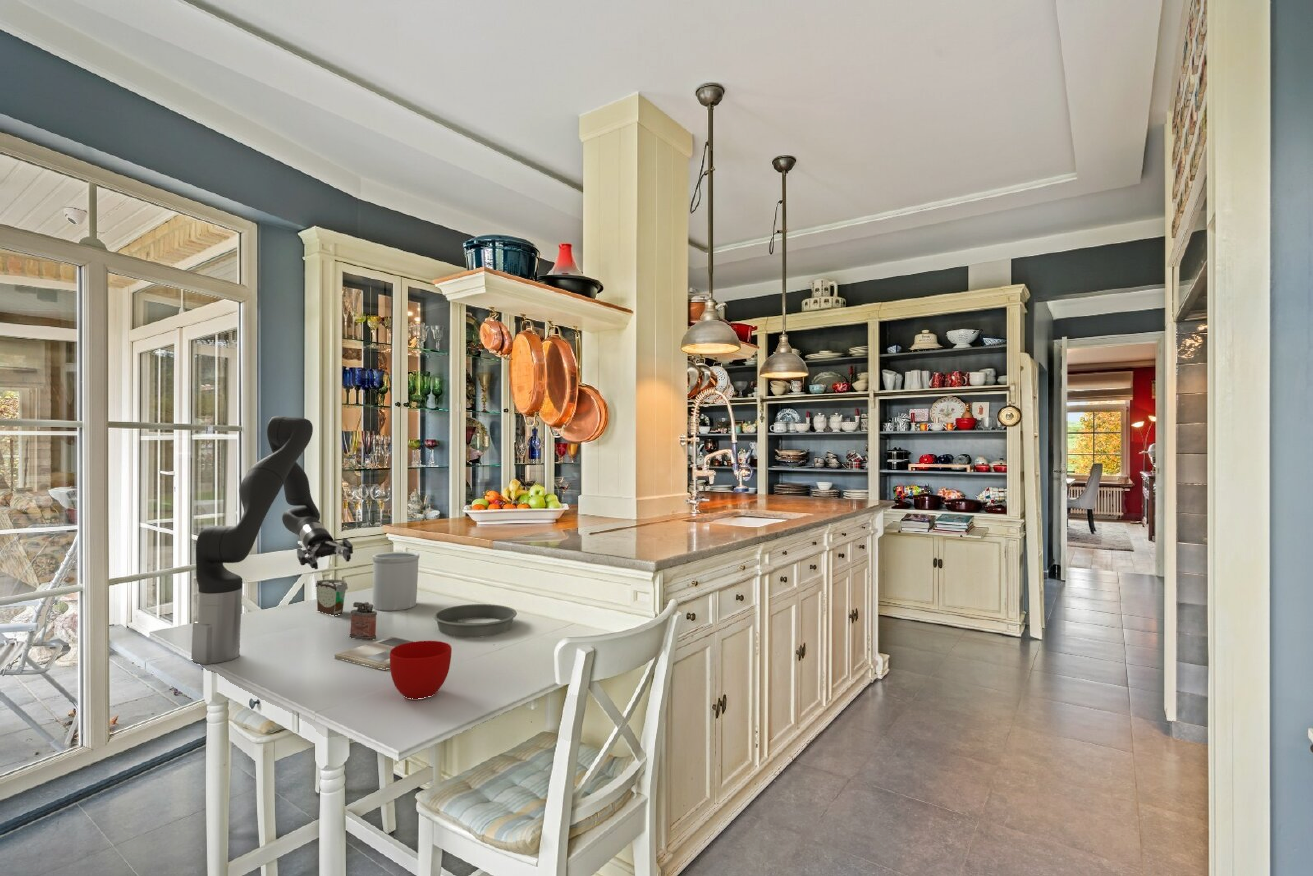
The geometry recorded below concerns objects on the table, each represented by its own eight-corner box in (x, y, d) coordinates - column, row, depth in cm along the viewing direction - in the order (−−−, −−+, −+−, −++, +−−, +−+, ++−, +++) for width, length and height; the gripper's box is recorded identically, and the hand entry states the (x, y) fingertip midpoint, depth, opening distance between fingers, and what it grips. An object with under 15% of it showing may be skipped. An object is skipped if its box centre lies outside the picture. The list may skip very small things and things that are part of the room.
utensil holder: (365, 604, 218) (366, 553, 218) (409, 598, 228) (410, 549, 228) (378, 613, 207) (380, 559, 207) (424, 607, 216) (426, 555, 217)
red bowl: (434, 674, 154) (435, 633, 154) (458, 698, 141) (460, 652, 141) (377, 685, 146) (378, 641, 147) (397, 711, 133) (398, 662, 133)
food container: (354, 613, 206) (356, 582, 206) (336, 617, 201) (337, 585, 201) (332, 607, 213) (334, 577, 213) (314, 611, 208) (315, 580, 208)
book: (384, 671, 156) (384, 665, 156) (334, 658, 164) (334, 653, 164) (439, 650, 172) (439, 646, 172) (391, 640, 180) (391, 635, 180)
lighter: (378, 637, 182) (380, 602, 182) (370, 641, 178) (371, 605, 179) (355, 634, 184) (356, 600, 184) (346, 638, 181) (347, 602, 181)
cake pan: (532, 629, 196) (532, 614, 196) (459, 645, 178) (459, 629, 178) (488, 613, 213) (489, 599, 213) (418, 626, 195) (418, 611, 195)
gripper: (289, 533, 190) (304, 557, 179) (340, 522, 199) (358, 545, 188) (291, 555, 192) (306, 580, 181) (341, 543, 202) (358, 567, 191)
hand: (332, 562), depth 185 cm, fingers open, 8 cm apart
